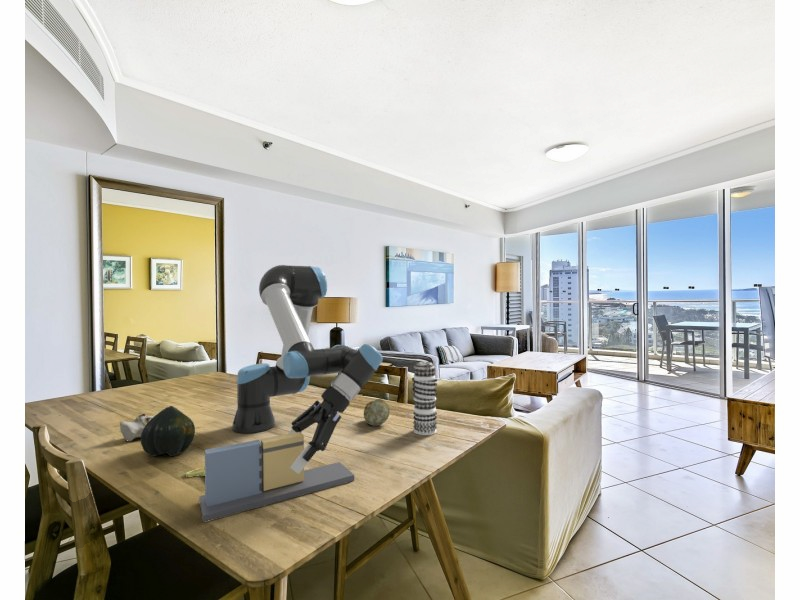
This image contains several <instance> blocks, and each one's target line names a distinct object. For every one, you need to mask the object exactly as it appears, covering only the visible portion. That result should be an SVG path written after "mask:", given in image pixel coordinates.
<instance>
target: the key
mask: <svg viewBox="0 0 800 600" xmlns="http://www.w3.org/2000/svg"><path fill="white" fill-rule="evenodd" d="M201 468H205V466H202V467H198V468H195V470H198V469H201ZM192 471H194V469H191V470H189V471H186V472H185V474H184V476H185V475H186V476H197V475H200V474H201V476H205V469H203V470H199V471H196V472H193V473H190V472H192ZM201 476H200V477H201Z"/></svg>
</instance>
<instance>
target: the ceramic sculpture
mask: <svg viewBox="0 0 800 600" xmlns="http://www.w3.org/2000/svg"><path fill="white" fill-rule="evenodd" d="M153 417H154V416H153V415H148V416H147V415H146V413H142V414H140V415H138V416H137V417H135V419H134V420H132V421H119V429H120V433H121V435H122V437H123V439H124V440H125V441H126V440H128V441H127V442H132V441H133V440H134V439H135V438H141V434H142V431H143V429H144V427H145V426H146V424H147V423H148V422H149V421H150V420H151V419H152V418H153Z"/></svg>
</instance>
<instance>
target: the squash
mask: <svg viewBox="0 0 800 600" xmlns="http://www.w3.org/2000/svg"><path fill="white" fill-rule="evenodd" d="M195 427H196V426H195V423H194V422H193V420H192V419H191V418H190V417H189V416H188V415H187V414H185V413H183V412H182V411H181V410H179V409H178V408H176V407H175V406H173V405H170V406H166V407H165V408H164V409H163V408H162V410H161V411H159V412H158V413H157V414H155V415H154V416H153V418H152V419H151V420H150V421H149V422H148V423H147V424H146V426H145V427H144V429H143V431H142V434H141V437H140V444H141V447H142V450H143V451H144V452H145V453H146V454H148V455H149V456H153V455H157V456H159V455H166V454H167V455H169V457H175V456H177V455H179V452H180V453H184V452H185V451H187V450H188V449H189V448H190V447H191V444H193V441H194V438H195V435H196V432H195V431H196V428H195ZM174 455H175V456H174Z"/></svg>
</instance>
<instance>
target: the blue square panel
mask: <svg viewBox="0 0 800 600" xmlns="http://www.w3.org/2000/svg"><path fill="white" fill-rule="evenodd" d="M261 453H262V446H261V440H259V439H256V440H250V441H244V442H239V443H233V444H229V445H224V446H218V447H212V448H209V449H204V467H205V469H204V470H205V477H204V487H205V489H204V492H205V493H204V495H205V502H206V506H207V507H209V506H213V505H217V504H221V503H225V502H229V501H232V500H236V499H240V498H244V497H248V496H252V495H255V494H259V493H262V470H261V466H262V458H261Z"/></svg>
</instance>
